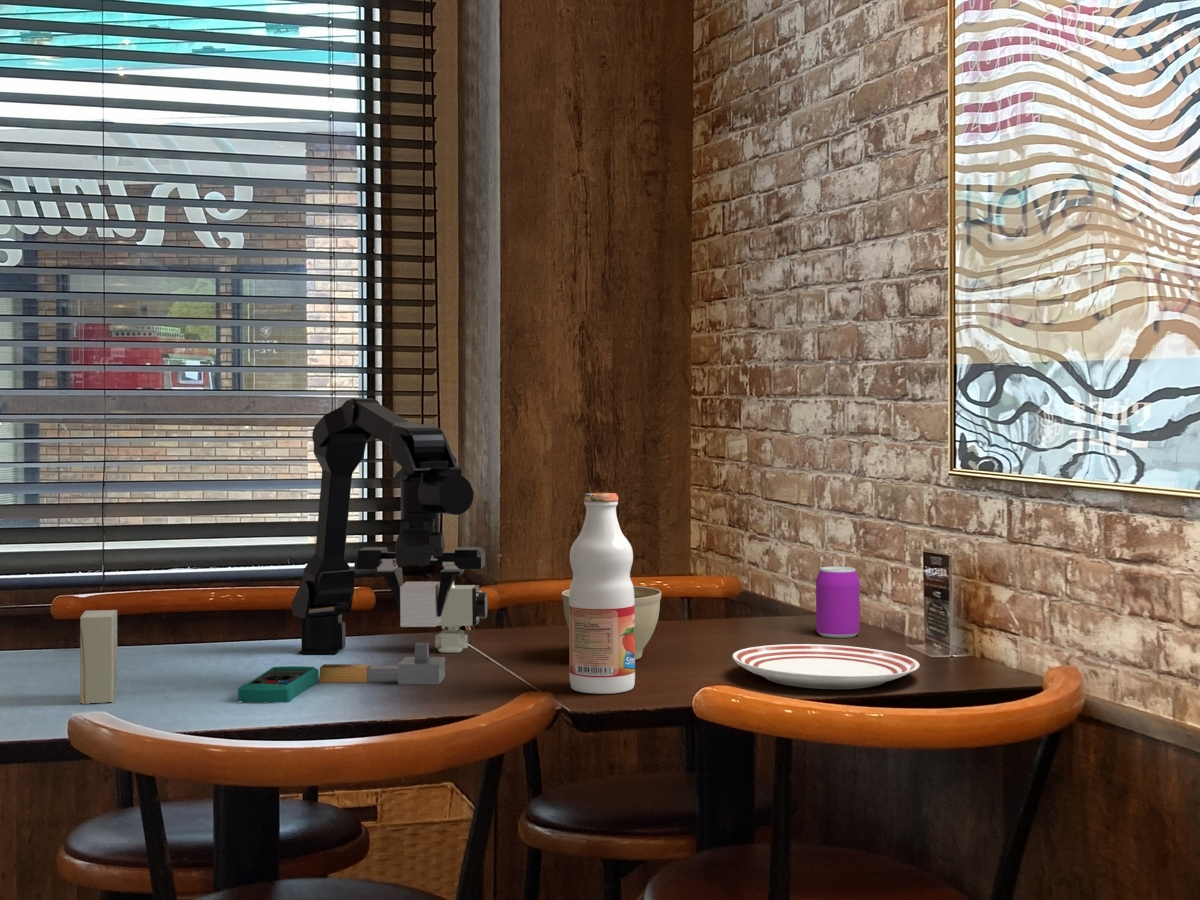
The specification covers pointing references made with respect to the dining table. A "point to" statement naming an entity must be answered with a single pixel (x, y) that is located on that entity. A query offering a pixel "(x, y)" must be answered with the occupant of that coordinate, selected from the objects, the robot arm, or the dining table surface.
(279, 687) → the digital multimeter
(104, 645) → the skincare box
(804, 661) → the dinner plate
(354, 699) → the dining table surface
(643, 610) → the planter bowl
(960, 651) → the dining table surface
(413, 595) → the plain white cube
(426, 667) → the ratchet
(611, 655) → the fruit juice
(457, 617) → the pneumatic valve
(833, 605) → the beverage can
